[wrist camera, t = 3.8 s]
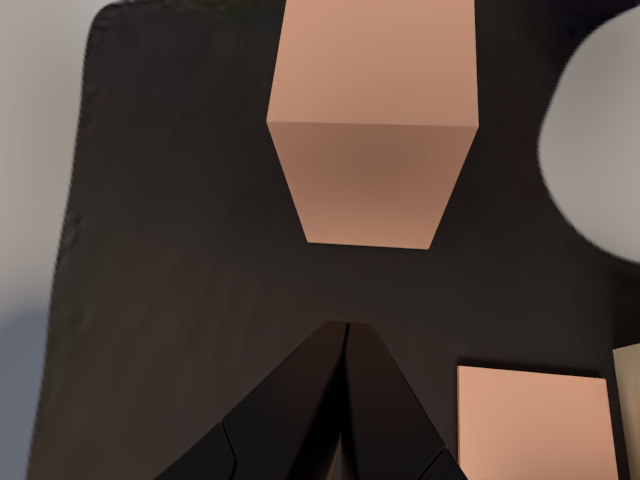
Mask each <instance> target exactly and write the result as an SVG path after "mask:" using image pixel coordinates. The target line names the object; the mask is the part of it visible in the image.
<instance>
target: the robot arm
mask: <svg viewBox="0 0 640 480" xmlns="http://www.w3.org/2000/svg"><path fill="white" fill-rule="evenodd" d="M340 433H341V473H342V480H468V478H467V477H466V475H465V474H464V472H463V471H462V469H461V467H460V466H459V464H458V463H457V461H456V459H455V458H454V456H453V454H452V453H451V451H450V450H449V449H447V445H446V443H445V442H444V440H443V439H442V437H441V435H440V434H439V432H438V431H437V429H436V427H435V426H434V424H433V423H432V421H431V419H430V418H429V416H428V414H427V413H426V411H425V410H424V408H423V406H422V405H421V403H420V402H419V400H418V398H417V397H416V395H415V393H414V392H413V390H412V389H411V387H410V385H409V384H408V382H407V381H406V379H405V377H404V376H403V374H402V372H401V371H400V369H399V368H398V366H397V364H396V363H395V361H394V360H393V358H392V356H391V355H390V353H389V352H388V350H387V348H386V347H385V345H384V343H383V342H382V340H381V339H380V337H379V335H378V334H377V332H376V331H375V329H374V327H373V326H372V324H371V323H369V322H359V321H351V322H350V323H349V324H348V322H347V321H345V320H334V319H328V320H326V321H325V322H324V323H323V324H322V325H321V326H320V327H319V328H318V329H317V330H315V331H314V332H313V333H312V334H311V335H310V336H309V337H308V338H307V339H306V340H305V341H304V342H303V343H302V344H301V345H300V346H299V347H298V348H297V349H295V350H294V351H293V352H292V353H291V354H290V355H289V356H288V357H287V358H286V359H285V360H284V361H283V362H282V363H281V364H280V365H279V366H278V367H276V368H275V369H274V370H273V371H272V372H271V373H270V374H269V375H268V376H267V377H266V378H265V379H264V380H263V381H262V382H261V383H260V384H259V385H258V386H256V387H255V388H254V389H253V390H252V391H251V392H250V393H249V394H248V395H247V396H246V397H245V398H244V399H243V400H242V401H241V402H240V403H239V404H237V405H236V406H235V407H234V408H233V409H232V410H231V411H230V412H229V413H228V414H227V415H226V416H225V417H224V418H223V419H222V420H221V423H217V424H216V425H215V426H214V427H213V428H212V429H211V430H210V431H209V432H208V433H207V434H206V435H205V436H203V437H202V438H201V439H200V440H199V441H198V442H197V443H196V444H195V445H193V446H192V447H191V448H190V449H189V450H188V451H187V452H186V453H185V454H183V455H182V456H181V457H180V458H179V459H178V460H177V461H176V462H174V463H173V464H172V465H171V466H169V467H168V468H167V469H166V470H164V471H163V472H162V473H161V474H160V475H158V476H157V477H156V478H155V479H153V480H331V478H332V474H333V469H334V465H335V460H336V456H337V451H338V446H339V441H340Z"/></svg>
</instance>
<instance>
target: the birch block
mask: <svg viewBox="0 0 640 480" xmlns="http://www.w3.org/2000/svg"><path fill="white" fill-rule="evenodd" d="M613 356H614V363H615V371H616V378H617V385H618V392H619V400H620V407H621V414H622V421H623V429H624V436H625V443H626V451H627V458H628V465H629V472H630V480H640V343H639V344H635V345H631V346H627V347H622V348H618V349H614V350H613Z"/></svg>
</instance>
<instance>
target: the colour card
mask: <svg viewBox="0 0 640 480" xmlns="http://www.w3.org/2000/svg"><path fill="white" fill-rule="evenodd" d="M457 409H458V464H459V466H460V467H461V469H462V471H463V472H464V474H465V475H466V477H467V478H468V480H618V473H617V465H616V457H615V450H614V442H613V434H612V426H611V418H610V410H609V403H608V395H607V387H606V379H599V378H588V377H577V376H566V375H555V374H544V373H533V372H522V371H511V370H500V369H489V368H477V367H466V366H457Z"/></svg>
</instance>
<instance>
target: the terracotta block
mask: <svg viewBox="0 0 640 480" xmlns="http://www.w3.org/2000/svg"><path fill="white" fill-rule="evenodd" d="M266 122H267V125H268V128H269V130H270V133H271V136H272V139H273V142H274V145H275V148H276V151H277V154H278V157H279V160H280V163H281V166H282V169H283V171H284V174H285V177H286V180H287V183H288V186H289V189H290V192H291V195H292V198H293V201H294V204H295V207H296V210H297V212H298V215H299V218H300V221H301V224H302V227H303V230H304V233H305V236H306V239H307V242H313V243H330V244H347V245H364V246H381V247H398V248H415V249H429V247H430V244H431V242H432V240H433V237H434V235H435V232H436V230H437V227H438V225H439V222H440V220H441V217H442V215H443V213H444V210H445V208H446V205H447V203H448V200H449V198H450V195H451V193H452V190H453V188H454V186H455V183H456V181H457V178H458V176H459V173H460V171H461V168H462V166H463V163H464V161H465V159H466V156H467V154H468V151H469V149H470V146H471V144H472V141H473V139H474V136H475V134H476V132H477V129H478V127H479V125H478V97H477V70H476V43H475V15H474V0H287V2H286V8H285V13H284V19H283V25H282V31H281V37H280V43H279V49H278V55H277V61H276V67H275V73H274V79H273V85H272V91H271V97H270V103H269V109H268V115H267V121H266Z"/></svg>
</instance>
